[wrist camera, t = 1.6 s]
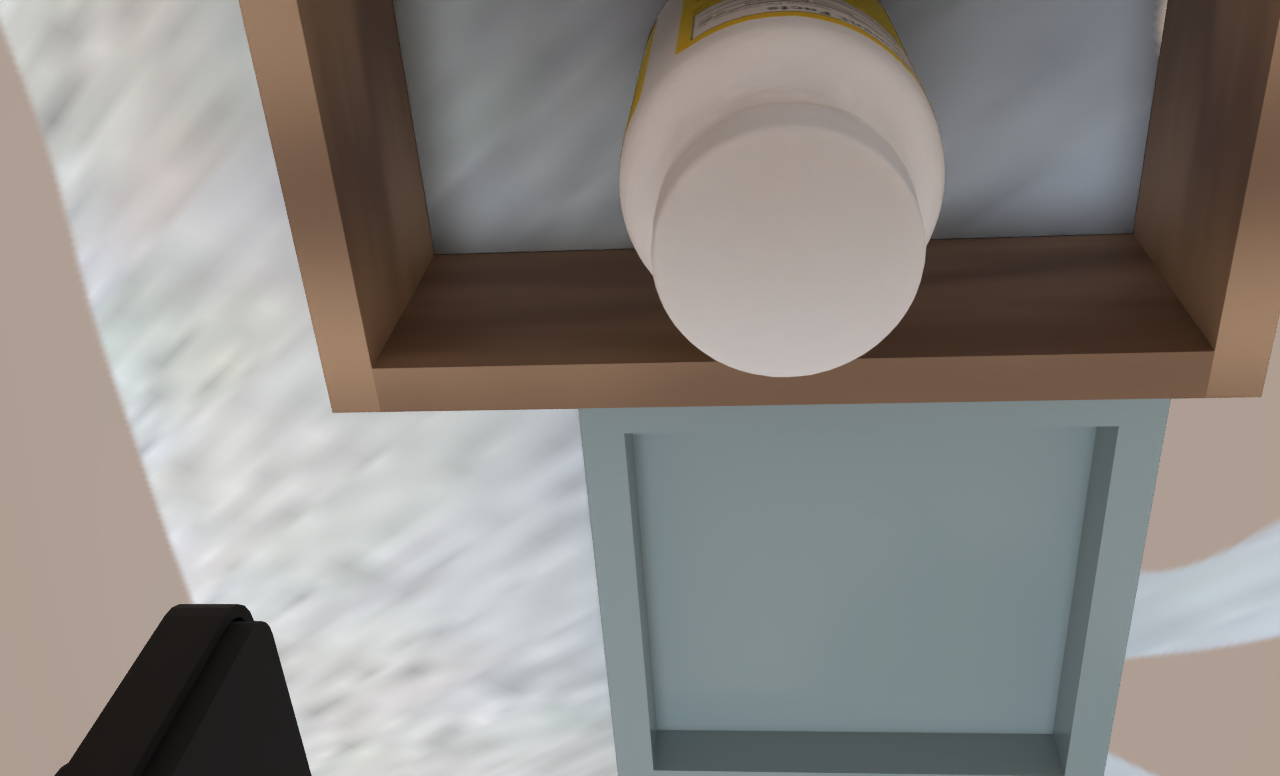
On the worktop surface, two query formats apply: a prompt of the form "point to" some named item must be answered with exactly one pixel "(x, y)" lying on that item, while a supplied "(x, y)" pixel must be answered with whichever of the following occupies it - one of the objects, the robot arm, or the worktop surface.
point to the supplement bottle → (781, 178)
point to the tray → (869, 583)
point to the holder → (687, 377)
